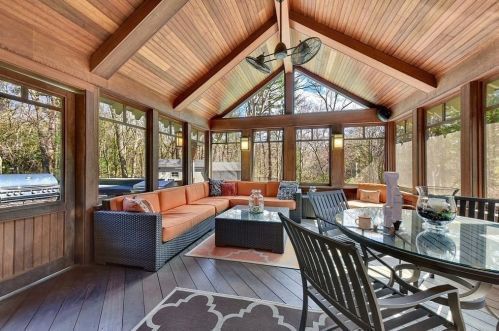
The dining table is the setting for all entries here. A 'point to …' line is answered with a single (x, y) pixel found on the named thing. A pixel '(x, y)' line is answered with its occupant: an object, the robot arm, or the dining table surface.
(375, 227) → the post
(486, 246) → the dining table surface
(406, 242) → the dining table surface
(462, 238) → the dining table surface
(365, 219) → the teacup with lid
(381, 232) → the sill strip
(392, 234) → the hinge post
